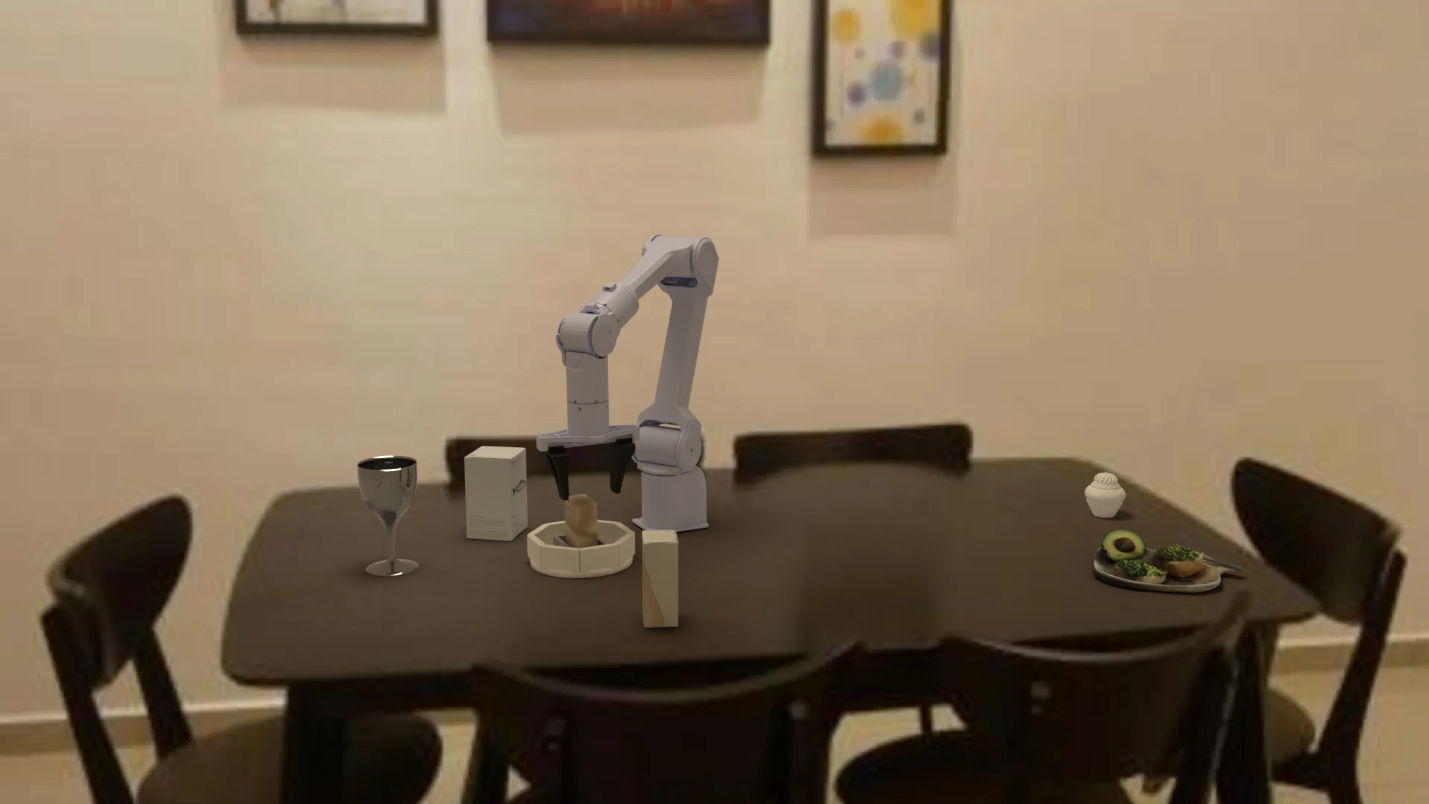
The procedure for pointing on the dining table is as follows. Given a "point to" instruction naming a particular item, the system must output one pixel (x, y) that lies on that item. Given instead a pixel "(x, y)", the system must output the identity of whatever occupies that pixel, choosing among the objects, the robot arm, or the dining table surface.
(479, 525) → the supplement box
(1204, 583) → the salad plate
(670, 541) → the box
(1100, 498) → the muffin
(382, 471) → the wine glass
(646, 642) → the dining table surface
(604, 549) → the octagonal cream tray
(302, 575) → the dining table surface
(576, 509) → the tan wooden block
